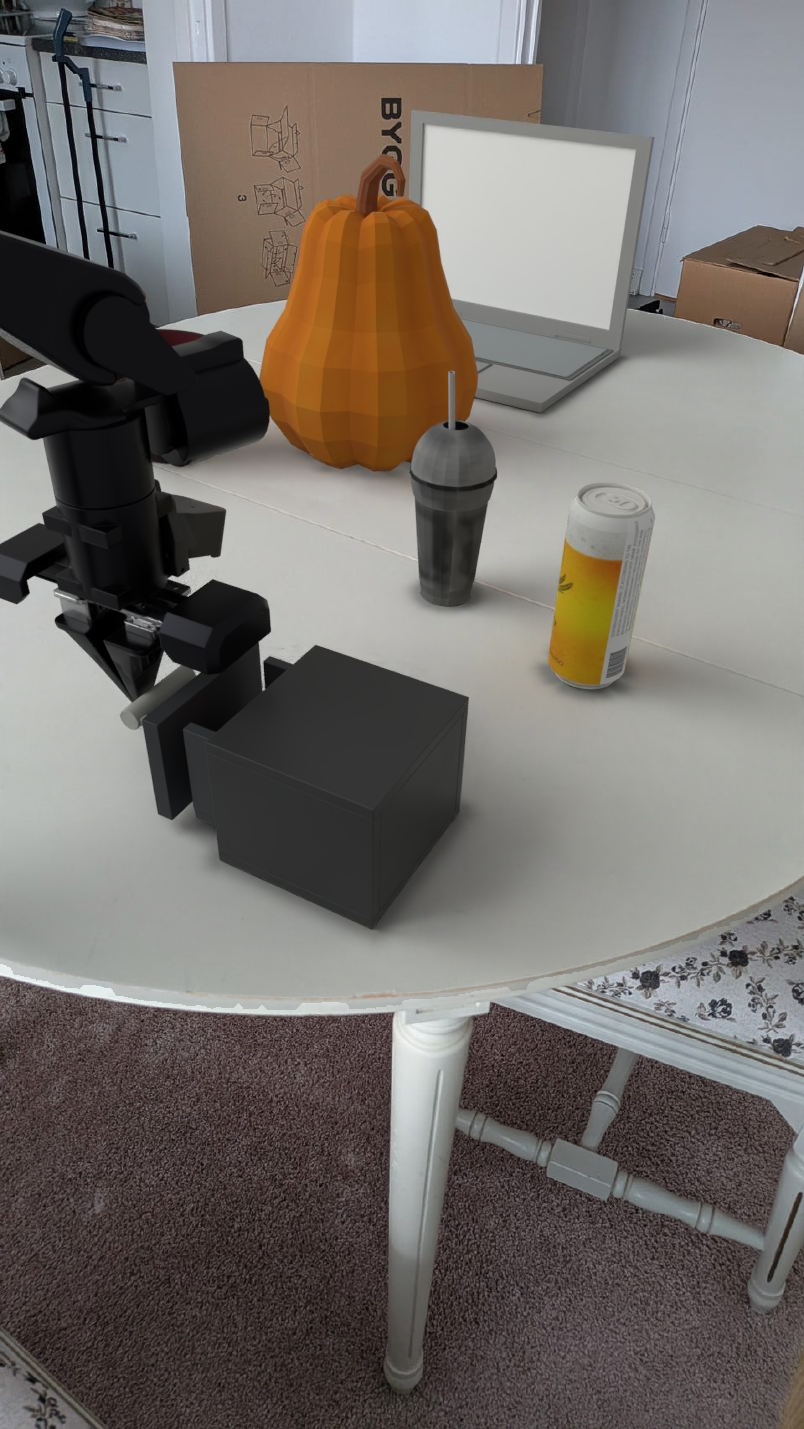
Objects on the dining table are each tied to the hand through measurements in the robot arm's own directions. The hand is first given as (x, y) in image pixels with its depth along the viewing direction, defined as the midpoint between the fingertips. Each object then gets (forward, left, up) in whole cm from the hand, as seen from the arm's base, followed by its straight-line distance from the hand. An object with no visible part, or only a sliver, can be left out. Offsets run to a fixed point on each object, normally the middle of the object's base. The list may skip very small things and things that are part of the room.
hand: (141, 701), depth 67 cm
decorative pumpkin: (-14, +54, -5) cm, 56 cm away
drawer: (+8, 0, -4) cm, 9 cm away
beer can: (+23, +25, -5) cm, 35 cm away
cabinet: (+16, 0, -5) cm, 17 cm away
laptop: (-18, +88, -5) cm, 90 cm away
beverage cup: (+8, +30, -5) cm, 32 cm away
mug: (-31, +39, -5) cm, 50 cm away
